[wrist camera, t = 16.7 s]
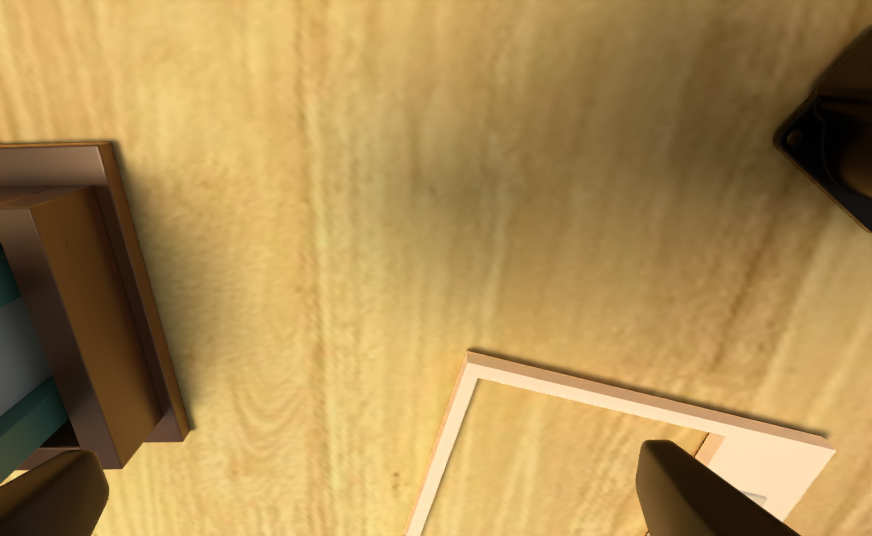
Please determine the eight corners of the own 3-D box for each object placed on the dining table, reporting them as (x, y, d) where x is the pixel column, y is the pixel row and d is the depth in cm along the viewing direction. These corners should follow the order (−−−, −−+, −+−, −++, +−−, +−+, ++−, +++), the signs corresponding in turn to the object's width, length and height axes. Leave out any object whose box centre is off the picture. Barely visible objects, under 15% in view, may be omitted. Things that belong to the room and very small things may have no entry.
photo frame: (694, 644, 28) (390, 585, 27) (685, 623, 29) (391, 565, 28) (839, 453, 23) (467, 364, 21) (822, 436, 24) (466, 350, 22)
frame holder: (111, 141, 19) (31, 160, 15) (190, 431, 24) (146, 497, 21) (-93, 147, 19) (-220, 167, 15) (31, 433, 24) (-41, 499, 21)
